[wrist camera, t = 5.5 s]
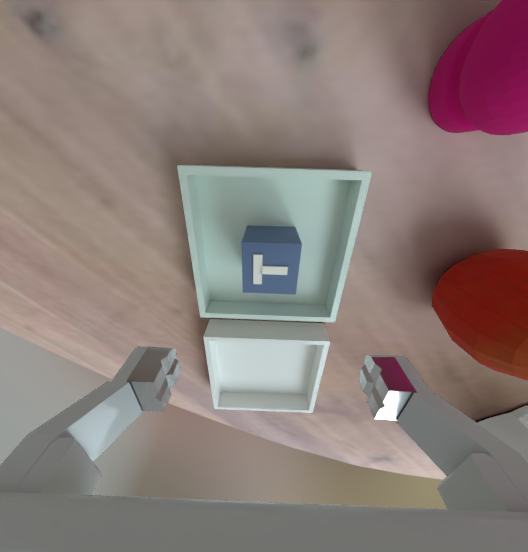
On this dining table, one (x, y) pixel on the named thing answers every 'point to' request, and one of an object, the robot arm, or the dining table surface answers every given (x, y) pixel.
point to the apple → (488, 308)
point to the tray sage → (271, 212)
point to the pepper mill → (485, 75)
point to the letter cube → (270, 259)
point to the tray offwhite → (265, 364)
